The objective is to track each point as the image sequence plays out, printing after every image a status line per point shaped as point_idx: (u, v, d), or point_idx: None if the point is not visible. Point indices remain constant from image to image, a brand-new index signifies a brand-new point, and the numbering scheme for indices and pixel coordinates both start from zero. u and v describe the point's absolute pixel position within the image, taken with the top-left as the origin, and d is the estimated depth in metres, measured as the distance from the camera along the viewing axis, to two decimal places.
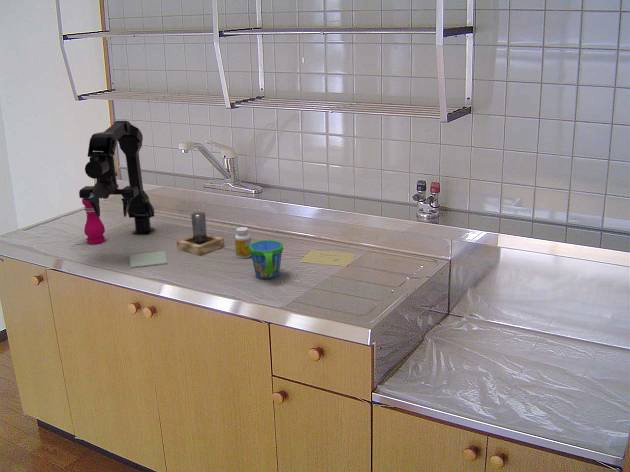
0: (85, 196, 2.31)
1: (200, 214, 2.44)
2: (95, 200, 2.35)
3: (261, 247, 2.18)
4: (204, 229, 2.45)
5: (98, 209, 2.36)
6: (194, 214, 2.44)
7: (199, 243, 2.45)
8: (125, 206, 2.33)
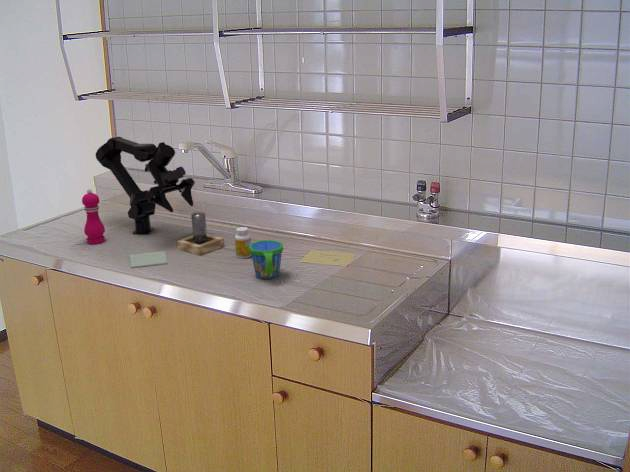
0: (159, 190, 2.43)
1: (200, 214, 2.44)
2: None
3: (261, 247, 2.18)
4: (204, 229, 2.45)
5: None
6: (194, 214, 2.44)
7: (199, 243, 2.45)
8: (190, 194, 2.52)
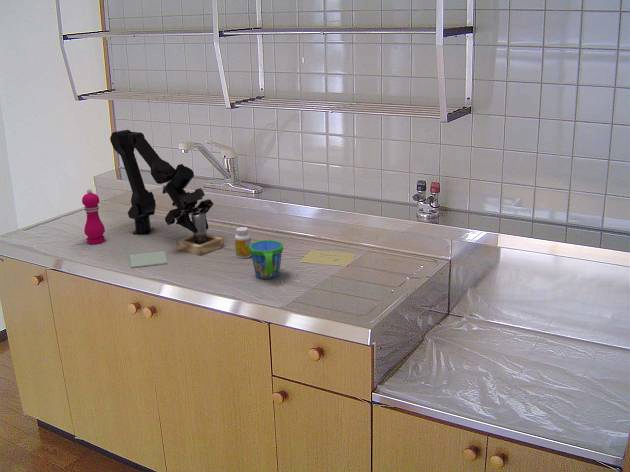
0: (178, 212, 2.40)
1: (200, 214, 2.44)
2: None
3: (261, 247, 2.18)
4: (204, 229, 2.45)
5: None
6: (194, 214, 2.44)
7: (199, 243, 2.45)
8: (205, 217, 2.48)
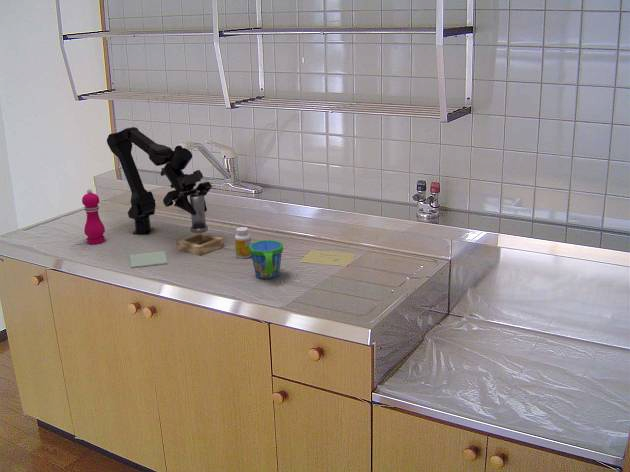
0: (176, 194, 2.38)
1: (198, 196, 2.42)
2: None
3: (261, 247, 2.18)
4: (202, 211, 2.43)
5: None
6: (192, 196, 2.42)
7: (197, 225, 2.43)
8: None
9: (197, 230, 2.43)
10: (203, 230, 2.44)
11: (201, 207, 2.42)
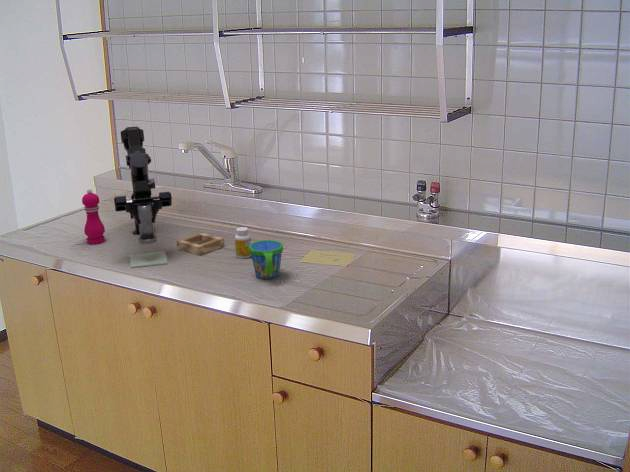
0: (121, 200, 2.31)
1: (144, 206, 2.30)
2: None
3: (261, 247, 2.18)
4: (147, 222, 2.31)
5: (137, 218, 2.32)
6: (140, 205, 2.32)
7: (142, 236, 2.33)
8: (155, 210, 2.33)
9: (140, 240, 2.33)
10: (146, 242, 2.32)
11: (144, 218, 2.30)
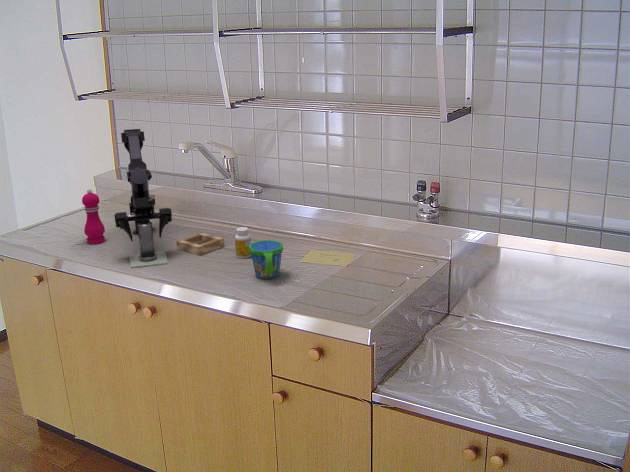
0: (121, 216, 2.32)
1: (145, 224, 2.32)
2: None
3: (261, 247, 2.18)
4: (147, 240, 2.33)
5: (131, 234, 2.34)
6: (141, 223, 2.34)
7: (142, 254, 2.35)
8: (161, 225, 2.35)
9: (140, 258, 2.35)
10: (146, 260, 2.34)
11: (145, 236, 2.32)
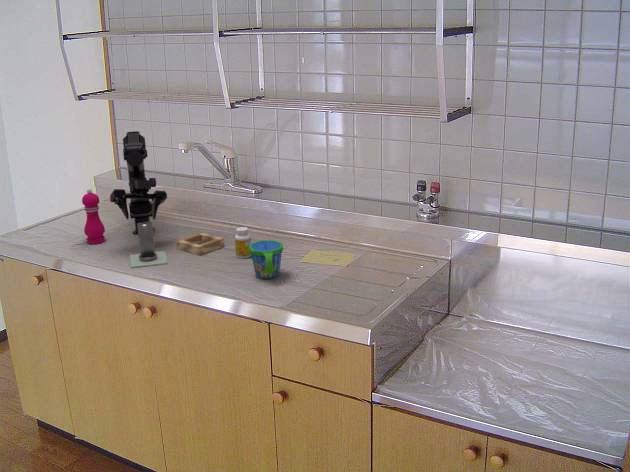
0: (121, 194, 2.38)
1: (145, 224, 2.32)
2: None
3: (261, 247, 2.18)
4: (147, 240, 2.33)
5: None
6: (141, 223, 2.34)
7: (142, 254, 2.35)
8: (156, 207, 2.45)
9: (140, 258, 2.35)
10: (146, 260, 2.34)
11: (145, 236, 2.32)
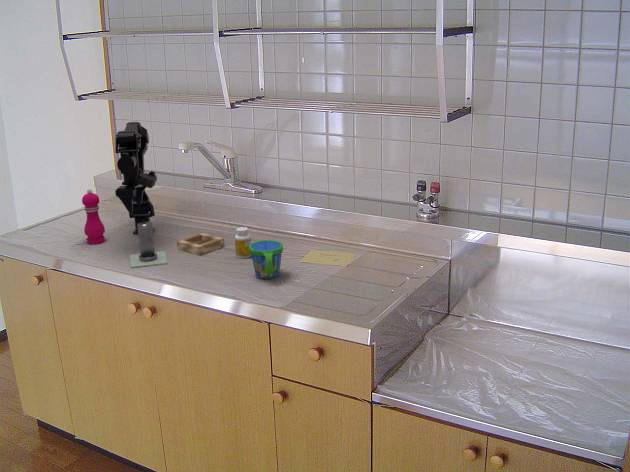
0: (134, 193, 2.41)
1: (145, 224, 2.32)
2: None
3: (261, 247, 2.18)
4: (147, 240, 2.33)
5: None
6: (141, 223, 2.34)
7: (142, 254, 2.35)
8: (142, 194, 2.54)
9: (140, 258, 2.35)
10: (146, 260, 2.34)
11: (145, 236, 2.32)
